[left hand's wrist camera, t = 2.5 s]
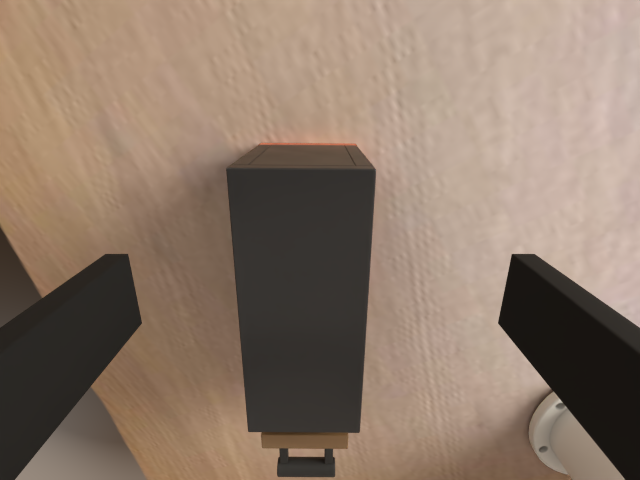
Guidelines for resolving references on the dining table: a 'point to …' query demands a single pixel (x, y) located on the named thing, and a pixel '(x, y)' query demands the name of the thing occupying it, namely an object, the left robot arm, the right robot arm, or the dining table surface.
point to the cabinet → (302, 282)
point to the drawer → (305, 440)
